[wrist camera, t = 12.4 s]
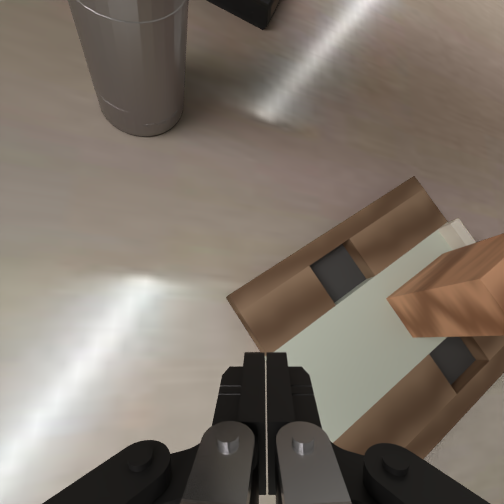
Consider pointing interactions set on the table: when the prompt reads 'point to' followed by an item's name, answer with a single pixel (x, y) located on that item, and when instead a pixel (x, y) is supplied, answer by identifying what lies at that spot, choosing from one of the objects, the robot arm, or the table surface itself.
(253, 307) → the lane board
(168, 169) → the table surface
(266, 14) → the portable cd player
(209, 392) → the table surface
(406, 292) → the block
